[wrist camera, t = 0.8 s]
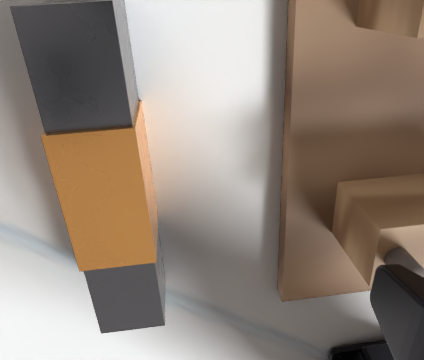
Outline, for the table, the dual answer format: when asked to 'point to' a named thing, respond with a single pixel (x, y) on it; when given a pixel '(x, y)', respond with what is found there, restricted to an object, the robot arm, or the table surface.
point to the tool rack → (351, 145)
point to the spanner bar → (98, 153)
